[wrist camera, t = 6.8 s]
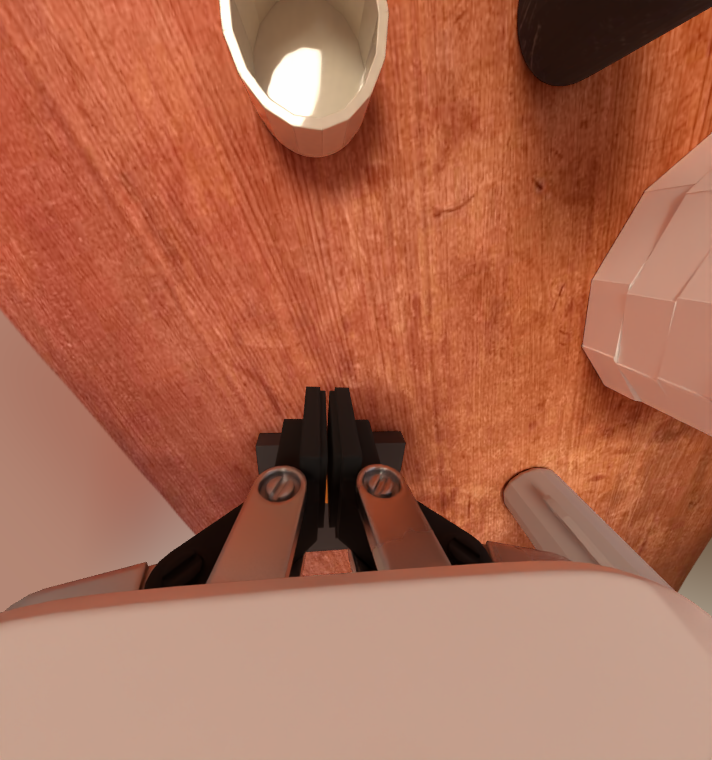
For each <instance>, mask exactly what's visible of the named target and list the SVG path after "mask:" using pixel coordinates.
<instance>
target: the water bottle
mask: <svg viewBox="0 0 712 760" xmlns="http://www.w3.org/2000/svg"><path fill="white" fill-rule="evenodd" d="M504 503H505V505H506V507H507V508H508V509H509V511H510V512H511V514H512V515H513V517H514V518H515V519H516V521H517V522H518V524H519V525H520V527H521V528H522V529H523V531H524V532H525V534H526V535H527V537H528V538H529V539H530V541H531V542H532V544H533V545H534V547H535V548H536V549H537V550H542V551H548V552H553V553H556V554H559V555H562V556H564V557H566V558H568V559H569V560H571V561H573V562H583V563H591V564H596V565H601V566H606V567H611V568H615V569H619V570H622V571H625V572H628V573H631V574H635V575H638V576H641V577H644V578H647V579H649V580H652V581H654V582H657V583H659V584H661V585H663V586H666V587H668V588H670V589H672V588H671V587H670V586H669V585H668V584H667V583H666V582H665V581H664V580H663V579H662V578H661V577H660V576H659V575H658V574H657V573H656V572H655V571H654V570H653V569H652V568H651V567H650V566H649V565H648V564H647V563H646V562H645V561H644V560H643V559H642V558H641V557H640V556H639V555H638V554H637V553H636V552H635V551H634V550H633V549H632V548H631V547H630V546H629V545H628V544H627V543H626V542H625V541H624V540H623V539H622V538H621V537H620V536H619V535H618V534H617V533H616V532H615V531H614V530H613V529H612V528H610V527H609V526H608V525H607V524H606V523H605V522H604V521H603V520H602V519H601V518H600V517H599V516H598V515H597V514H596V513H595V512H594V511H593V510H592V509H591V508H590V507H589V506H588V505H587V504H586V503H585V502H584V501H583V500H582V499H581V498H580V497H579V496H578V495H577V494H576V493H575V492H574V491H573V490H572V489H571V488H570V487H569V486H568V485H567V484H566V483H565V482H564V481H563V480H562V479H561V478H560V477H559V476H558V475H557V474H555V473H554V472H553V471H552V470H550V469H544V468H532V469H530V470H527V471H524V472H521V473H520V474H518V475H517V476H516V477H514V478H513V479H512V480H510V481H509V483H508V484H507V486H506V488H505V490H504ZM672 590H673V589H672Z"/></svg>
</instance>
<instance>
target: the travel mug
mask: <svg viewBox="0 0 712 760" xmlns="http://www.w3.org/2000/svg"><path fill="white" fill-rule="evenodd" d="M710 7H712V0H519V8H518V35H519V42H520V47H521V50H522V54H523V56H524V59H525V62H526V63H527V65H528V67H529V69H530V70H531V71H532V73H533V74H534V75H535V76H536V77H537V78H538V79H539V80H541V81H543V82H544V83H547V84H550V85H554V86H565V85H570V84H574V83H576V82H579V81H581V80H583V79H585V78H587V77H589V76H591V75H592V74H594V73H596V72H598V71H600V70H602V69H603V68H605V67H607V66H609V65H610V64H612V63H614V62H616V61H617V60H619V59H621V58H623V57H624V56H626V55H628V54H630V53H631V52H633V51H635V50H637V49H638V48H640V47H642V46H644V45H645V44H647V43H649V42H651V41H652V40H654V39H656V38H658V37H659V36H661V35H663V34H665V33H667V32H668V31H670V30H672V29H674V28H675V27H677V26H679V25H681V24H682V23H684V22H686V21H688V20H689V19H691V18H693V17H695V16H696V15H698V14H700V13H702V12H703V11H705V10H707V9H709V8H710Z"/></svg>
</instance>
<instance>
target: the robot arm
mask: <svg viewBox="0 0 712 760" xmlns="http://www.w3.org/2000/svg"><path fill="white" fill-rule="evenodd" d="M326 482H327V491H328V522H329V528H335V538H338V539H339V540H340V541H341V542H342V543H343V544H344V545H346V546H347V547H348V557H349V561H350V565H351V570H352V573H341V574H328V575H314V576H302V573H303V567H304V562H305V552H306V551H307V550H308V549H309V548H310V547H311V546H312V545H313V544H314V543H315V542H316V541H317V534H318V528H324V514H325V498H326ZM0 760H712V616H710V615H709V614H708V613H707V612H705V611H704V610H703V609H701V608H700V607H699V606H697V605H696V604H695V603H693V602H692V601H690V600H689V599H687V598H686V597H684V596H682V595H680V594H679V593H677V592H675V591H674V590H672V589H670V588H668V587H666V586H663V585H661V584H659V583H657V582H654V581H652V580H649V579H647V578H644V577H641V576H638V575H635V574H631V573H628V572H625V571H622V570H619V569H615V568H611V567H606V566H601V565H596V564H591V563H583V562H573V561H571V560H569V559H568V558H566V557H564V556H562V555H559V554H556V553H553V552H548V551H542V550H537V549H531V548H525V547H519V546H514V545H508V544H502V543H497V542H491V541H487V542H486V545H484V544H481V543H480V542H479V541H478V540H477V539H476V538H474V537H473V536H472V535H470V534H469V533H467V532H466V531H464V530H462V529H461V528H459V527H458V526H456V525H454V524H453V523H451V522H450V521H448V520H447V519H445V518H443V517H442V516H440V515H439V514H437V513H436V512H434V511H432V510H431V509H429V508H428V507H426V506H424V505H423V504H421V503H420V502H418V501H417V500H416V499H415V498H414V496H413V494H412V492H411V490H410V488H409V487H408V485H407V483H406V481H405V479H404V478H403V477H402V475H401V474H400V473H399V472H398V471H396V470H395V469H394V468H391V467H389V466H386V465H382V464H381V463H380V459H379V456H378V452H377V448H376V445H375V441H374V437H373V434H372V430H371V427H370V423H369V420H355V417H354V412H353V407H352V402H351V397H350V392H349V388H337V387H335V391H330V392H329V408H328V425H327V420H326V394H325V391H320V387H306V394H305V405H304V416H303V419H284V422H283V427H282V432H281V437H280V442H279V447H278V452H277V457H276V462H275V467H272V468H270V469H268V470H266V471H264V472H262V473H261V474H260V475H259V476H258V477H257V478H256V480H255V481H254V483H253V485H252V487H251V489H250V491H249V493H248V495H247V498H246V500H245V502H244V503H242V504H241V505H239V506H238V507H236V508H235V509H233V510H232V511H230V512H229V513H228V514H226V515H225V516H223V517H222V518H220V519H219V520H217V521H216V522H214V523H213V524H211V525H210V526H208V527H207V528H205V529H204V530H203V531H201V532H200V533H198V534H197V535H195V536H194V537H192V538H191V539H189V540H188V541H186V542H185V543H183V544H182V545H181V546H179V547H178V548H176V549H175V550H173V551H172V552H170V553H169V554H168V555H167V556H165V557H164V558H163V559H162V560H161V561H159V563H158V564H155V565H151V566H148V565H147V562H144V563H141V564H137V565H133V566H129V567H126V568H122V569H118V570H114V571H110V572H107V573H103V574H99V575H95V576H91V577H87V578H83V579H80V580H76V581H72V582H69V583H65V584H61V585H57V586H53V587H49V588H46V589H43V590H40V591H38V592H35V593H32V594H30V595H28V596H26V597H24V598H23V599H21V600H20V601H18V602H16V603H15V604H13V605H11V606H10V607H9V608H8V609H7V610H5V611H4V612H1V613H0Z"/></svg>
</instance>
